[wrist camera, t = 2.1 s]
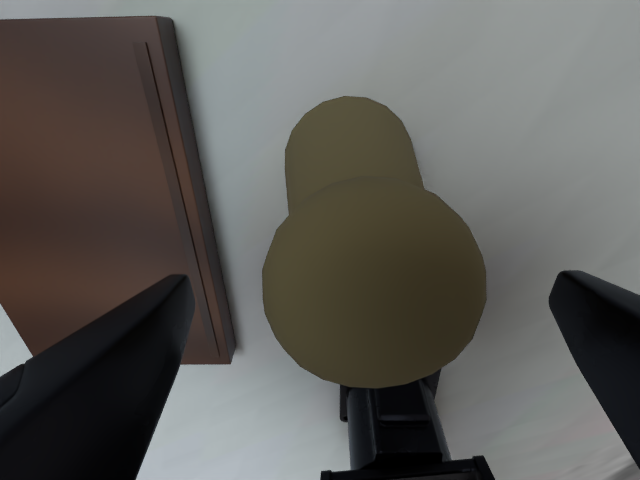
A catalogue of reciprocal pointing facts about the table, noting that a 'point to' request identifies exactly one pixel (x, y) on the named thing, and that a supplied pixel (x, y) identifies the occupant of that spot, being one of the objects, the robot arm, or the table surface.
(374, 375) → the olive yellow pawn
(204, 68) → the table surface
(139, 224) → the walnut board
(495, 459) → the table surface
